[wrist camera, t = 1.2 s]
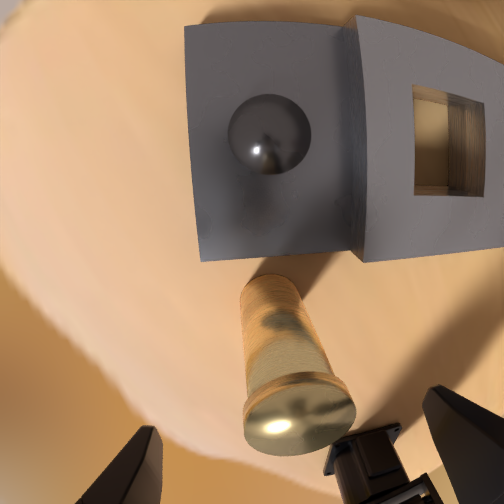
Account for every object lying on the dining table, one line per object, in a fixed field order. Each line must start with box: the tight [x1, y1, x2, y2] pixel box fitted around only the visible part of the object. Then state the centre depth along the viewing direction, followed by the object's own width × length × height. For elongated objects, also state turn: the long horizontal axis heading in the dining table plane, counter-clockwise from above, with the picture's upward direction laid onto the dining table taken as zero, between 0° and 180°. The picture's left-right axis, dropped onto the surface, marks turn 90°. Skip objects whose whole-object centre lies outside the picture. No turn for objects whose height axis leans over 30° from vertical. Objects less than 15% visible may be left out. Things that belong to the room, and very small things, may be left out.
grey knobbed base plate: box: [184, 15, 504, 263], centre depth 11 cm, size 10×22×4 cm, turn 93°
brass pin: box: [240, 274, 356, 456], centre depth 11 cm, size 3×3×8 cm
